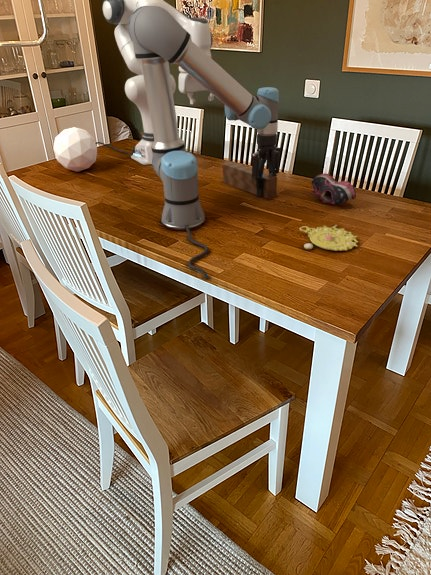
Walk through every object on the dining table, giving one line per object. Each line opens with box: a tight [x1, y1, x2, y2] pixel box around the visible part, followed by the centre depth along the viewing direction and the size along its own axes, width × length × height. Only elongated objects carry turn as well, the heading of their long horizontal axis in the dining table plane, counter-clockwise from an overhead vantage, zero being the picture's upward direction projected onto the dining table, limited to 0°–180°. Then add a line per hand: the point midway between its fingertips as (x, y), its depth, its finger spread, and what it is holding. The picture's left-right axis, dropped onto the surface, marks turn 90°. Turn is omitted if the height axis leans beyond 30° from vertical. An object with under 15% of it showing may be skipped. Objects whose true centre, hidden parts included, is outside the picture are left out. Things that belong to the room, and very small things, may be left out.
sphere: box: [52, 126, 98, 173], centre depth 205 cm, size 19×20×20 cm
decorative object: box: [299, 224, 359, 252], centre depth 141 cm, size 21×2×20 cm
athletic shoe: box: [309, 173, 357, 206], centre depth 167 cm, size 11×22×12 cm
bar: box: [222, 161, 278, 200], centre depth 180 cm, size 28×5×8 cm, turn 39°
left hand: (202, 102), depth 183 cm, fingers open, 8 cm apart
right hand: (264, 193), depth 175 cm, fingers open, 5 cm apart
